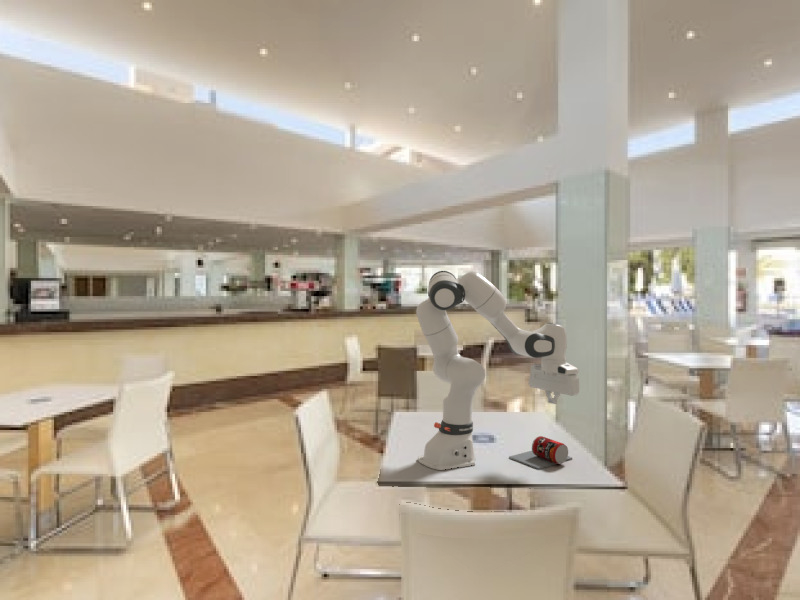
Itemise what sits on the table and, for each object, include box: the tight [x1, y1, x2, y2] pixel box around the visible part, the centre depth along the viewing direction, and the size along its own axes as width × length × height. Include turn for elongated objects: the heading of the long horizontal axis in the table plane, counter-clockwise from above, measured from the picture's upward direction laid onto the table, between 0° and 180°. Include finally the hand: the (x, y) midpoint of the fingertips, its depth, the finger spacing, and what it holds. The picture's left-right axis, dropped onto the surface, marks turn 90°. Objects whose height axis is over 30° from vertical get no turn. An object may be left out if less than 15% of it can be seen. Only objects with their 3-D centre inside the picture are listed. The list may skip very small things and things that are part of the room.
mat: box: [508, 450, 573, 470], centre depth 180 cm, size 20×14×1 cm
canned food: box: [531, 435, 569, 465], centre depth 177 cm, size 8×8×11 cm
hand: (552, 403), depth 175 cm, fingers closed
